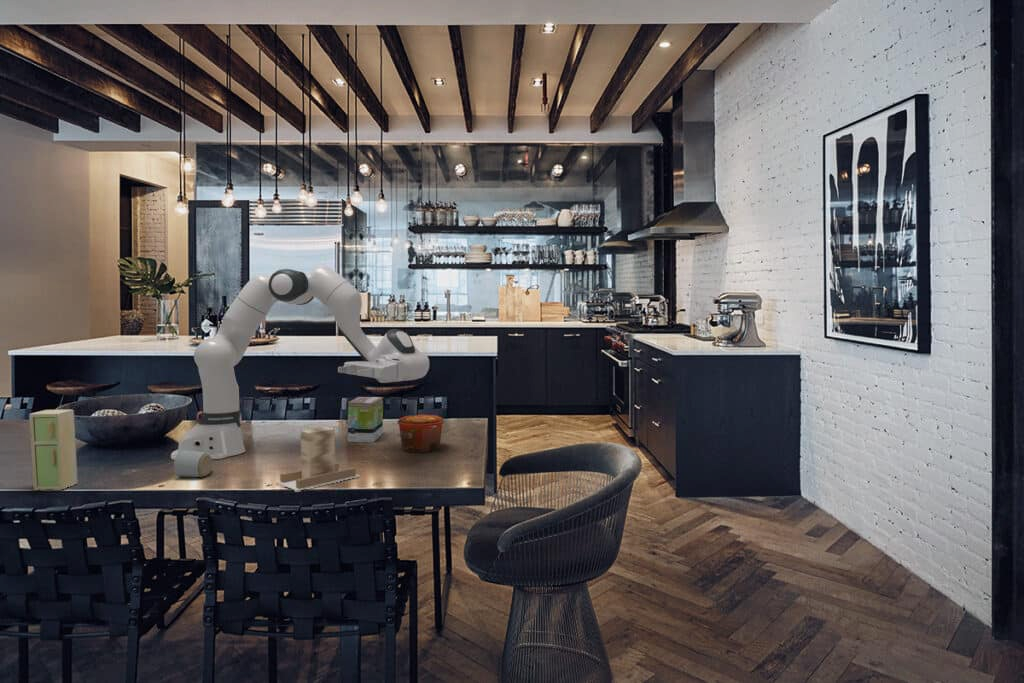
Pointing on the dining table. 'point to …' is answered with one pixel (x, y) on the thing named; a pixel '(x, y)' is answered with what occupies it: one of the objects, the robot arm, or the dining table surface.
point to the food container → (420, 433)
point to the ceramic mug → (192, 464)
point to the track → (315, 478)
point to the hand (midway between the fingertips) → (348, 371)
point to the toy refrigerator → (53, 449)
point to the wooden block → (317, 451)
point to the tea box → (365, 419)
